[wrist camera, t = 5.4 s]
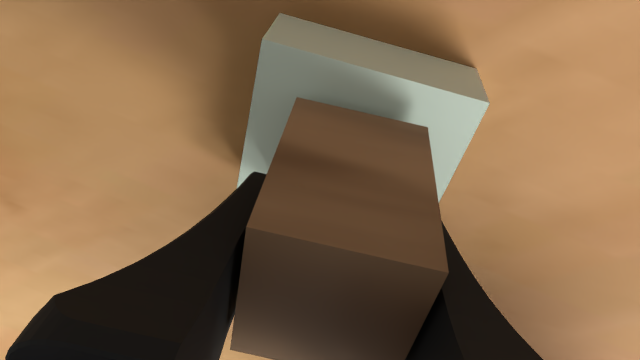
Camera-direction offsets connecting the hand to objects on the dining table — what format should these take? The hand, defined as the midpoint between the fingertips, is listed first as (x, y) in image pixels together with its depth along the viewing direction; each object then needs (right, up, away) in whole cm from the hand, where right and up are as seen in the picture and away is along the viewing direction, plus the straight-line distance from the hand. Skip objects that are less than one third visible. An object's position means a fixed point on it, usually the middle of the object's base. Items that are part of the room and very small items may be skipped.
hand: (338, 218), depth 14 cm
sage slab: (+1, +3, +5) cm, 6 cm away
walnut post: (0, +2, +1) cm, 2 cm away
